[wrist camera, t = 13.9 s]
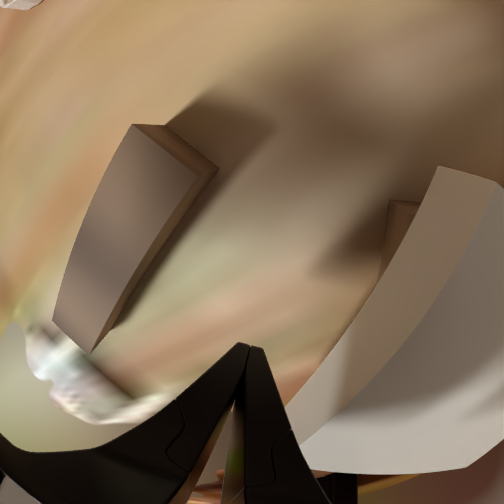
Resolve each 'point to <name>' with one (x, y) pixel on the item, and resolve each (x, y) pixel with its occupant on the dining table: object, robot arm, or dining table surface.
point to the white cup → (19, 4)
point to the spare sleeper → (127, 228)
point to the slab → (419, 348)
